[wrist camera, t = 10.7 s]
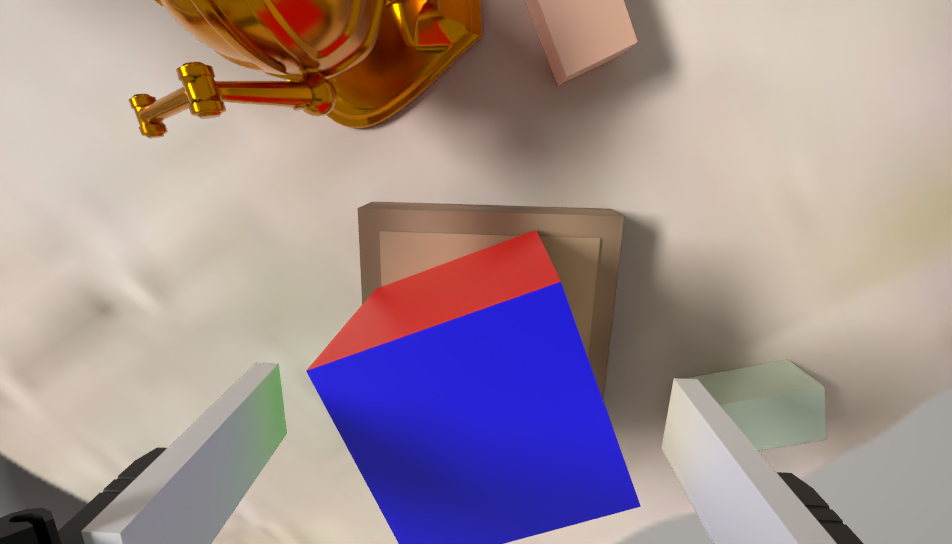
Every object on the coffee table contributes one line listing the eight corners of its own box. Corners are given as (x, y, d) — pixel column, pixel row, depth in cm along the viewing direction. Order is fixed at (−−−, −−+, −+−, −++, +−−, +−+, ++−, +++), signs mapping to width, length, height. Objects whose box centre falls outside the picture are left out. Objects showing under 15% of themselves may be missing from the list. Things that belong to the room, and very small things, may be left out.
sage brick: (679, 424, 25) (702, 459, 23) (673, 378, 25) (696, 409, 22) (788, 405, 25) (826, 439, 22) (785, 358, 24) (824, 386, 21)
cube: (536, 229, 20) (560, 281, 12) (589, 379, 22) (640, 506, 14) (375, 288, 21) (306, 370, 13) (440, 426, 23) (412, 568, 15)
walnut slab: (380, 408, 26) (368, 437, 23) (372, 201, 23) (356, 208, 20) (587, 418, 25) (598, 448, 23) (610, 208, 22) (625, 217, 20)
